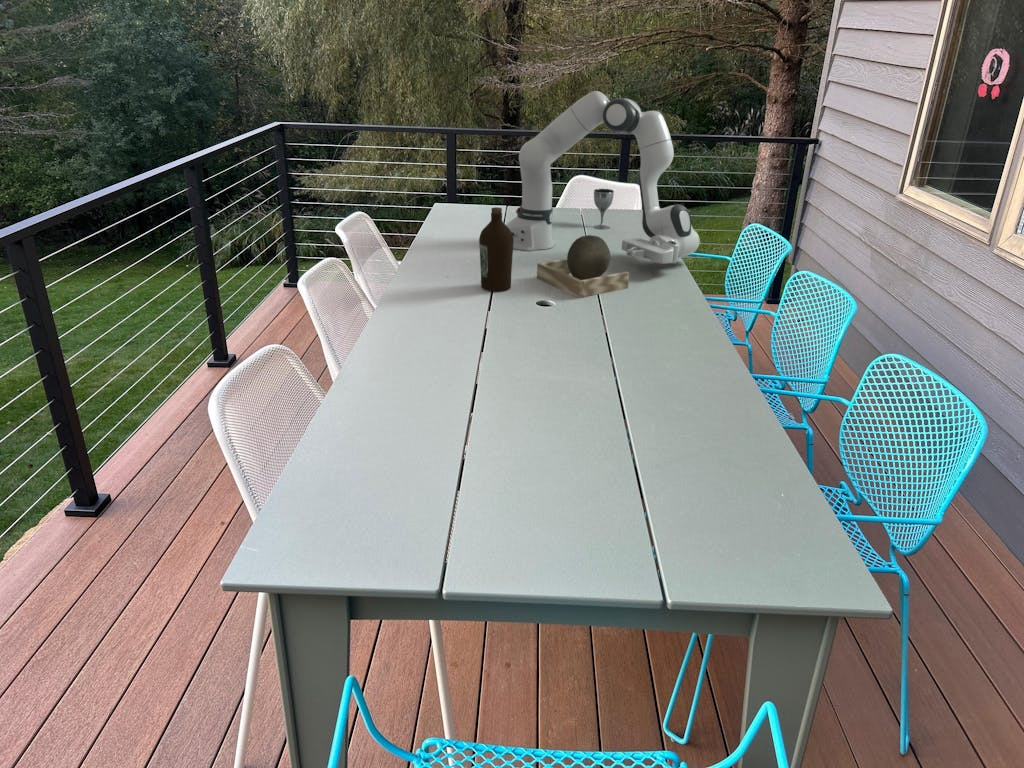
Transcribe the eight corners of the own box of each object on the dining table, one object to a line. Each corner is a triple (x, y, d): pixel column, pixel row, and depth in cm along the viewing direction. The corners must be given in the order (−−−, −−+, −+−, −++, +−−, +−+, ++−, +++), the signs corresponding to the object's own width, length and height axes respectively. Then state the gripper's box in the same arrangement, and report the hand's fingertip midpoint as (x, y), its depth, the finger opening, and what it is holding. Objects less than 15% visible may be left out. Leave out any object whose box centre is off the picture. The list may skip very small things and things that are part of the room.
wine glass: (611, 229, 312) (614, 192, 306) (592, 229, 312) (594, 192, 306) (610, 225, 320) (612, 188, 313) (591, 224, 320) (593, 188, 313)
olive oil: (507, 281, 248) (508, 203, 238) (516, 291, 239) (518, 211, 229) (475, 283, 245) (475, 205, 235) (484, 294, 236) (484, 213, 226)
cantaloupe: (560, 285, 245) (562, 239, 239) (572, 273, 258) (574, 229, 251) (603, 290, 241) (606, 244, 235) (613, 278, 253) (617, 233, 247)
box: (583, 269, 262) (584, 255, 259) (627, 287, 244) (629, 272, 242) (536, 278, 252) (537, 263, 250) (579, 297, 234) (580, 282, 232)
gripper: (640, 232, 268) (610, 236, 261) (682, 245, 253) (651, 251, 246) (638, 249, 271) (608, 254, 264) (679, 264, 256) (649, 270, 249)
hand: (629, 253), depth 255 cm, fingers closed
